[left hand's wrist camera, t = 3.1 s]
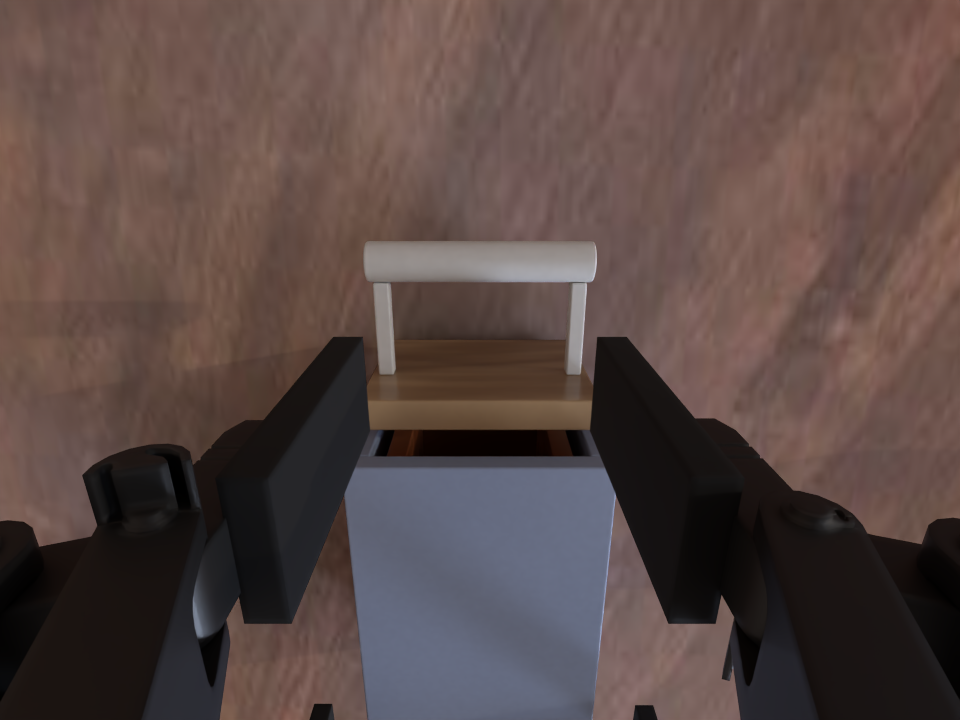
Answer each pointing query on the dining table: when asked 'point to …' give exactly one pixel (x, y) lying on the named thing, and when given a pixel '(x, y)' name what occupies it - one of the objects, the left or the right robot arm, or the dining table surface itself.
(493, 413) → the drawer
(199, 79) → the dining table surface
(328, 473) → the left robot arm
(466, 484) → the cabinet
